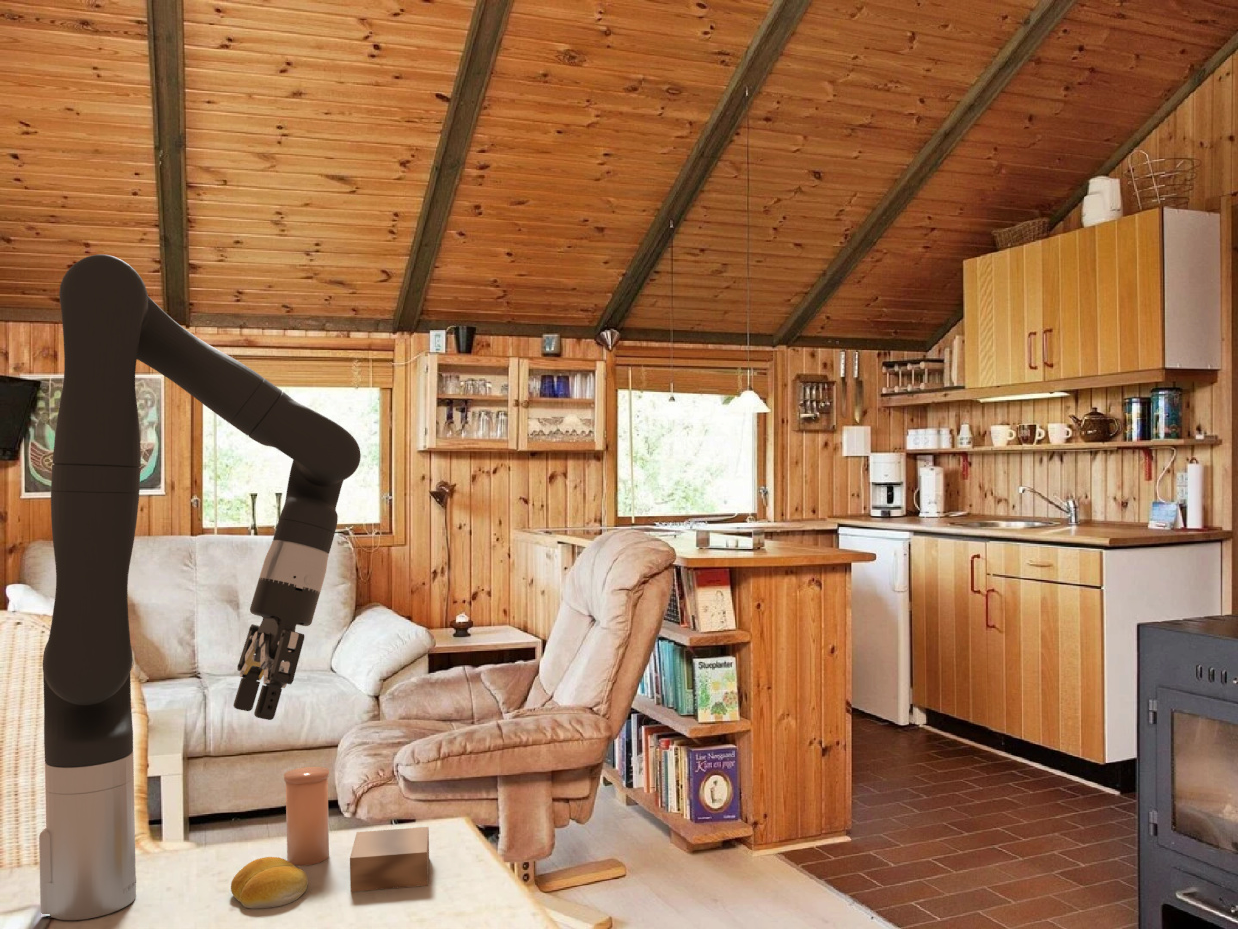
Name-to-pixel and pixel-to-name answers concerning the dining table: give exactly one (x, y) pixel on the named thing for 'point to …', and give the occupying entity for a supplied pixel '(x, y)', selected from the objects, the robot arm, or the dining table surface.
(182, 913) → the dining table surface
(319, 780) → the jar
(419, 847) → the plinth
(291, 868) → the bread roll
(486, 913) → the dining table surface
